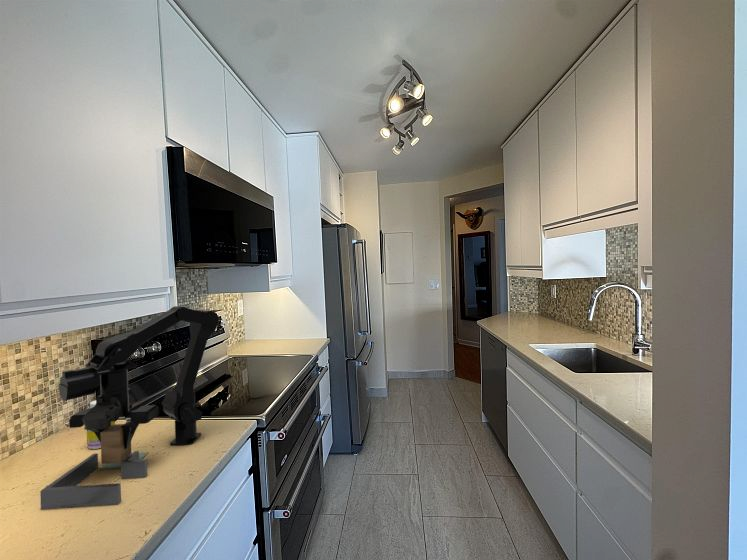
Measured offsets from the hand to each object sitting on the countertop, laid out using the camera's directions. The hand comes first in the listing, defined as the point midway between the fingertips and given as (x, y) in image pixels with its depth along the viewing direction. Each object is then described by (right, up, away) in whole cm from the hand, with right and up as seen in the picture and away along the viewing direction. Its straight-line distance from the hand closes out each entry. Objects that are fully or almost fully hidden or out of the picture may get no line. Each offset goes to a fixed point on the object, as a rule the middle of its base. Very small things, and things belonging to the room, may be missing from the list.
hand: (116, 448), depth 89 cm
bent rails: (+3, -5, -8) cm, 9 cm away
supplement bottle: (-14, -5, +13) cm, 20 cm away
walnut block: (0, -3, 0) cm, 2 cm away
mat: (0, -5, +4) cm, 6 cm away
